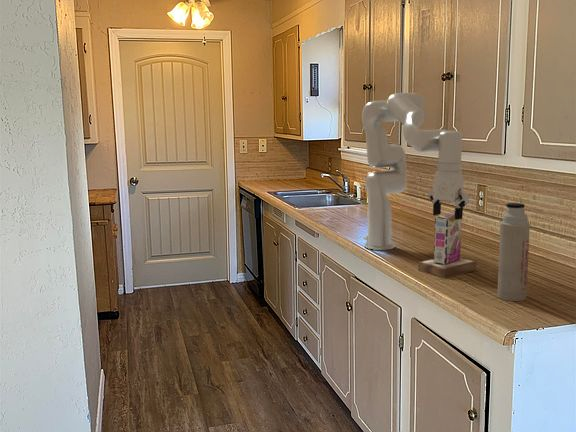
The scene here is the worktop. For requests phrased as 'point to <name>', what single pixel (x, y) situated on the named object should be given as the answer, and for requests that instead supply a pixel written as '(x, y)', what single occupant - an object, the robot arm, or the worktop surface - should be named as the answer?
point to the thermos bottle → (513, 253)
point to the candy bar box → (447, 239)
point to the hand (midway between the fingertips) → (447, 216)
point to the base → (447, 267)
